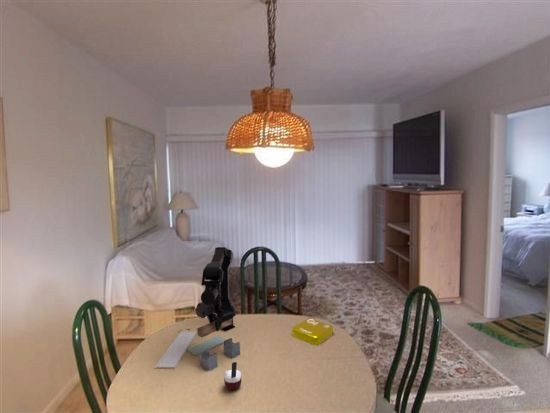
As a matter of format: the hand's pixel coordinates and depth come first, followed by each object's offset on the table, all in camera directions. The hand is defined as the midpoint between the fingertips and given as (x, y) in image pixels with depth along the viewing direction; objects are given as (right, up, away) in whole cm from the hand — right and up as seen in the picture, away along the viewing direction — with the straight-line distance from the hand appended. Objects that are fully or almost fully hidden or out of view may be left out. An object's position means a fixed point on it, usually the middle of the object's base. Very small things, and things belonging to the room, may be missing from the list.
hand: (215, 329), depth 145 cm
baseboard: (-18, -11, +5) cm, 22 cm away
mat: (-5, -10, +7) cm, 13 cm away
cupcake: (+10, -13, -23) cm, 28 cm away
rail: (0, 0, 0) cm, 0 cm away
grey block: (+7, -11, 0) cm, 13 cm away
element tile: (+44, -9, +16) cm, 47 cm away
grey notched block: (-1, -12, -9) cm, 15 cm away
